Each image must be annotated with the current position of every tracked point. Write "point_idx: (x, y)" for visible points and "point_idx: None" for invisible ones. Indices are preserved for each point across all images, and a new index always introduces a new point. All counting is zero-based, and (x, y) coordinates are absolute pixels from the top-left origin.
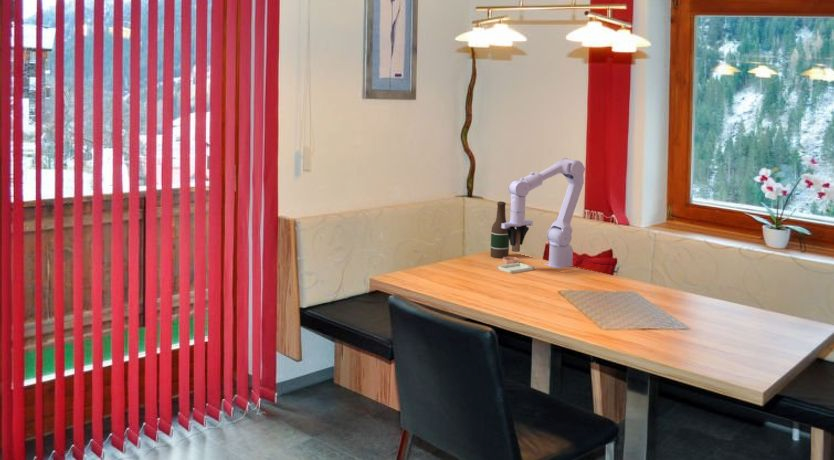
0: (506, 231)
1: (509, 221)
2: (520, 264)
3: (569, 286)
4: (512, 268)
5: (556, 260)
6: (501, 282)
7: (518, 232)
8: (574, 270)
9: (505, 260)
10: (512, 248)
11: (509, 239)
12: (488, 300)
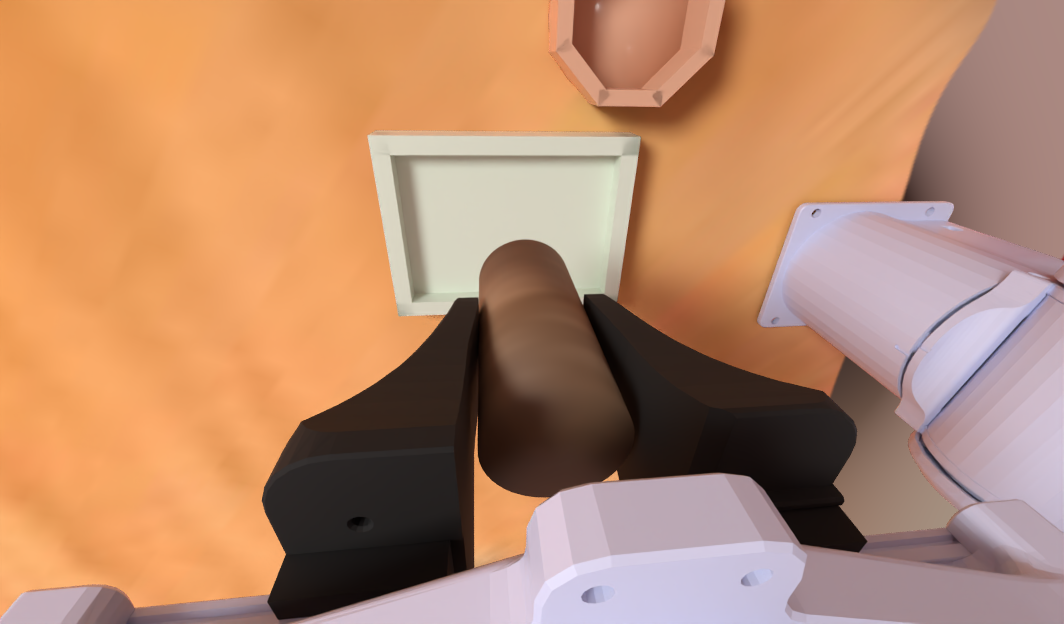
0: (346, 402)
1: (538, 562)
2: (617, 167)
3: (525, 539)
4: (497, 203)
5: (813, 324)
6: (240, 408)
7: (592, 455)
8: (797, 376)
9: (555, 25)
10: (479, 291)
11: (434, 332)
12: (46, 582)
